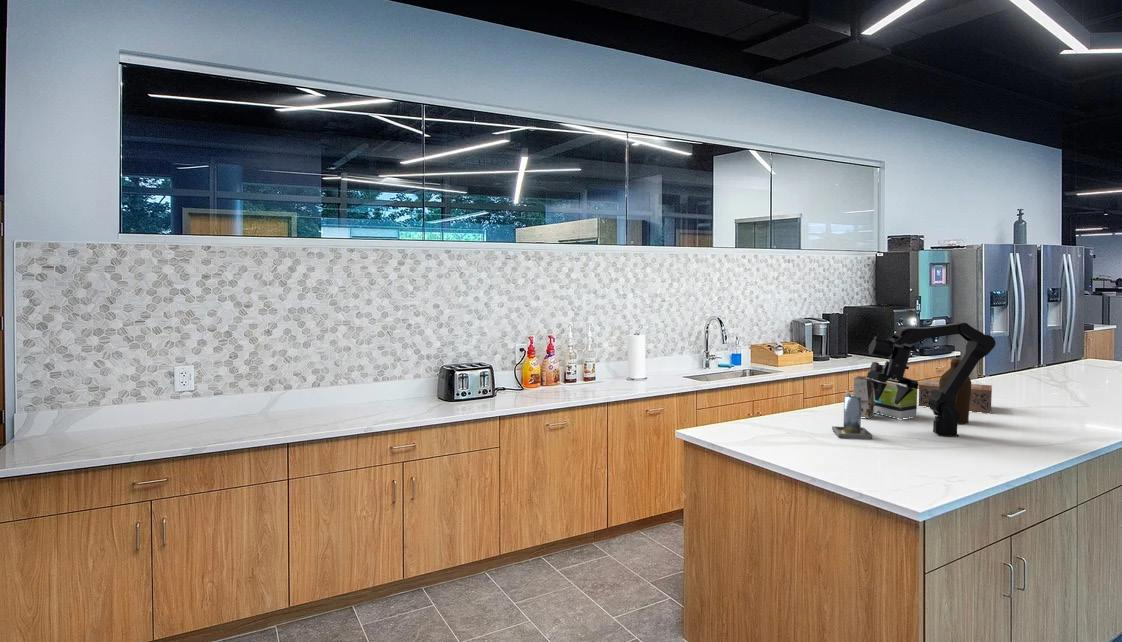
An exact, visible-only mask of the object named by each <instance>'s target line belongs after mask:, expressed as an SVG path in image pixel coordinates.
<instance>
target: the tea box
mask: <svg viewBox="0 0 1122 642" xmlns="http://www.w3.org/2000/svg"><path fill="white" fill-rule="evenodd" d="M884 383H886V384H887V385H886V387H885V389H884V391H883V393H882V395H881V397H880V398H879V400H878V401H877V400H875V394H874V413H879V414H883V415H887V416H891V417H895V418H899V419H903V418H909V417H915V418H917V413H918V412H917V411H918V410H917V408H918V406H917V405H918V388H917V389H915V388H912V389H914V391H911V392H910V393H909V394H908V395H907V396H905V397H904V398H903V399H902V400H901V401H900V402H899V403H898V404H895V398H896V394H897V390H898V389H897V386H896V384H898V385H899V383H895V382H890V381H887V382H884ZM883 415H882V416H883Z"/></svg>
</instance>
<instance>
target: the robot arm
mask: <svg viewBox="0 0 1122 642" xmlns="http://www.w3.org/2000/svg"><path fill="white" fill-rule="evenodd" d="M953 335H954V336H955V335H959V336H960V337H961V338H963V340H965V341H967V343H966V346H965V351H964V352H965V353H964V354H963V355H964V356H963V357H962V358H961V361H960V363H959V364H958V366H957V367H956V369H955V370H954V372H953V374H952V375H951V377H950V378H949V380H948V381H947V383H946V384H945V386H944V387H943V388H942V389H941V390H939V391H938V390H936V389H934V391H933V393H932V395H931V396H930V397H929V398H928V399H930V400H929V402H928V404H929V407H930V408H929V409H930V410H931V411H932V413H933V415H935V417H934V420H933V426H932V432H933V433H934V434H936V435H937V436H939V437H960V435H959V434H958V424H957V421H958V420H959V418H960V416H961V414H960V413H958V412H957V411H956V410H955V409H954V406H955V404H956V398H957V394H958V392H959V390H960V389H961V387H962V386H963V384H964V383H965V381H966V380H967V378H968V377H969V378H970V375H971V374H972V372H973V370H975V367H976V366H977V365H978V363H979V361H981V360H982V359H983V358H985V357H986V356H987V355H989V354H990V353H991V351H993V350H994V348H995V347H996V343H997V342H996V340H995V338H994V337H993V336H991V335H989V334H985V333H984V332H981V330H980V331H979V330H978V329H976V328H974V327H973V326H971V324H969V323H967V322H963V321H962V322H961V321H958V322H954V323H947V324H939V325H931V326H924V327H919V326H918V327H916V326H915V327H914V326H902V327H901V326H900V327H898V328H897V329H896V331H895V333H894V334H893V335H891V336H890V337H888V338H887V339H885V338H882V337H880V336H874V337H873V339H872V340H871V342H870V344H869V345H868V354H869V355H873V356H877V357H880V358H884V359H886V358H889V357H890V358H889V360H886V361H885V363H884V364H881V363H879V362H877V361H873V362H871V364H870V370H869V371H868V372H867V375H866V377H868V378H871V379H869V380H870V381H871V382H872V383H873V386H874V394H875V400H877V401H878V400H879V398H880V397H881V395H882V393H883V391H884V389H885V387H886V385H887V384H886V383H884V382H887V381H890V382H895V383H899V385H898V384H896V386H897V389H898V390H897V394H896V398H895V404H898V403H899V402H900V401H901V400H902V399H903V398H904V397H905V396H907V395H908V394H909V393H910V392H911V391H914V389H912V388H915V389H917V390H918V389H919V384H920V383H919V382H918V380H915V379H912V378H909V377H904V375H905V372H906V370H909V369H910V366H909V365H908V362H909V359H910V355H911V352H913V353H918V352H919V351H918V349H917V348H916V346H915V345H914V344H916V343H919V342H921V341H925V340H927V339H930V338H931V339H932V338H939V337H946V336H953ZM906 344H907V345H906Z"/></svg>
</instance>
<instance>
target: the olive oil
mask: <svg viewBox="0 0 1122 642" xmlns="http://www.w3.org/2000/svg"><path fill="white" fill-rule="evenodd" d="M961 360H962V358H960V357H951V358H950V368H949V369H947V370H946V371H945V372H944V373H943V374H941V376H940V378H939V390H941V389H942V388H943V387H944V386H945V384H946V383H947V381H948V380H949V378H950V377H951V375H952V374H953V372H954V370H955V369H956V367H957V366H958V364H959V363H960V361H961ZM971 384H972V380H971V378H970V376H969V377H968V378H967V380H966V381H965V383H964V384H963V386H962V387H961V389H960V390H959V392H958V394H957V398H956V404H955V406H954V409H955V410H956V411H957V412H958V413H960V414H961V416H960V418H959V420H958V421H957V425H967V424H969V418H970V417H969V416H970V414H969V413H970V412H969V405H970V395H971ZM966 423H967V424H966Z"/></svg>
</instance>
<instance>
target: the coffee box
mask: <svg viewBox="0 0 1122 642" xmlns="http://www.w3.org/2000/svg"><path fill="white" fill-rule="evenodd" d="M869 379H871V378H868V377H867V375H866V376H865V375H864V376H861V375H858V376H856V377H854V378H853V390H852V391H853V393H852V394H854V395H856V396H859V397H861V417H865V418H870V417H871V416H872V415H873V416H874V386H873V383H872V382H871V381H870V380H869ZM873 416H872V417H873ZM872 417H871V418H872ZM871 418H870V419H871Z"/></svg>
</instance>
